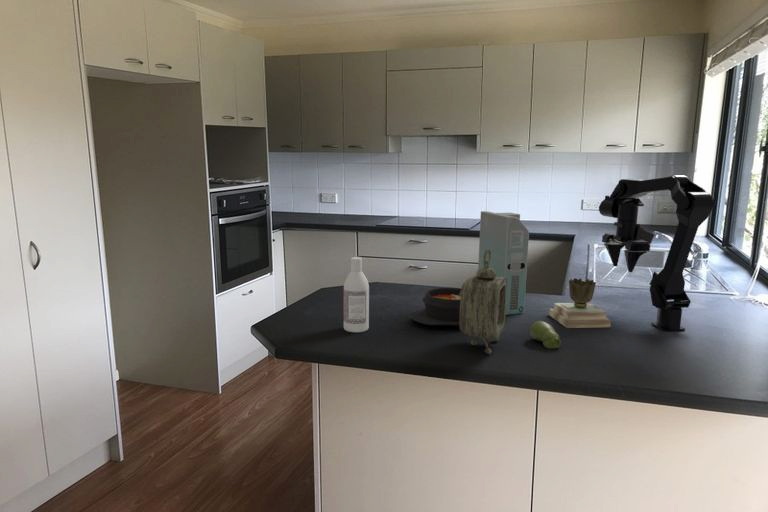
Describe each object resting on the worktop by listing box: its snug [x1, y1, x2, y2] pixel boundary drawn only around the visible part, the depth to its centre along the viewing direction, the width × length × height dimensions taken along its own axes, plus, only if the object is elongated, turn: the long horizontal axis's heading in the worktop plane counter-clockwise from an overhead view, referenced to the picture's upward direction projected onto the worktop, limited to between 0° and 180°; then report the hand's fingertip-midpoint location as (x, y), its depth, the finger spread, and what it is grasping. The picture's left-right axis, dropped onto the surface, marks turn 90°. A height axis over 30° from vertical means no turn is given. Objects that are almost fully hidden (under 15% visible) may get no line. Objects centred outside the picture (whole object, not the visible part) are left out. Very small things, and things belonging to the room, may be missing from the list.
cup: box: [568, 277, 597, 308], centre depth 167 cm, size 8×7×8 cm
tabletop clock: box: [458, 249, 507, 355], centre depth 143 cm, size 14×9×25 cm, turn 158°
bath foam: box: [343, 256, 370, 333], centre depth 156 cm, size 7×7×20 cm
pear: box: [529, 320, 562, 350], centre depth 148 cm, size 6×5×10 cm
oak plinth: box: [548, 302, 612, 329], centre depth 168 cm, size 13×13×4 cm
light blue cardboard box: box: [477, 210, 530, 316], centre depth 179 cm, size 16×8×30 cm, turn 19°
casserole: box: [409, 287, 461, 328], centre depth 165 cm, size 25×19×8 cm
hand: (622, 269), depth 180 cm, fingers open, 9 cm apart
